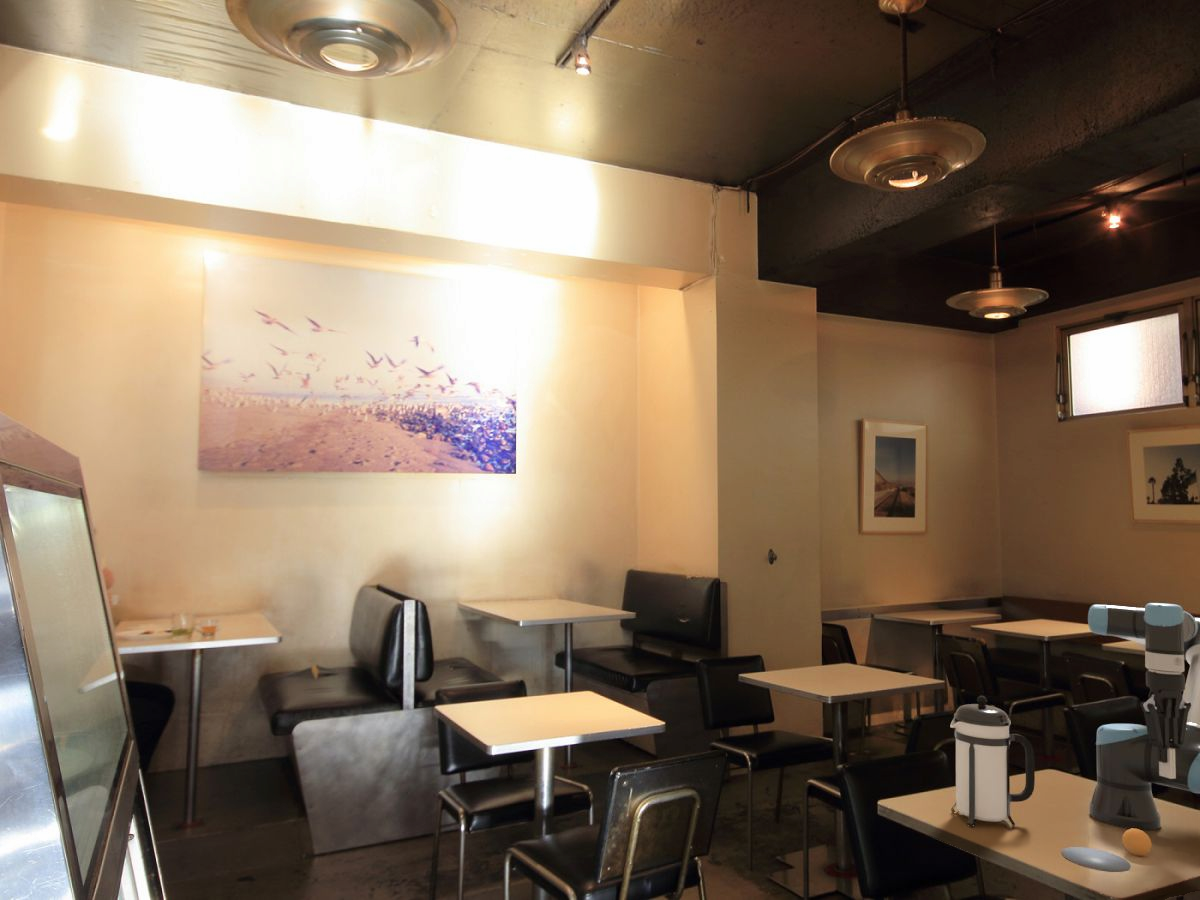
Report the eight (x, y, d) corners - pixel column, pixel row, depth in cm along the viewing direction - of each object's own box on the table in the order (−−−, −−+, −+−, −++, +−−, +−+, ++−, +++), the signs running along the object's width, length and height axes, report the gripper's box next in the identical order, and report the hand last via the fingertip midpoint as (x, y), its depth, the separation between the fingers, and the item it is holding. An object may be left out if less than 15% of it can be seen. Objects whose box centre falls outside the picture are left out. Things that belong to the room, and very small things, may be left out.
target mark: (1093, 845, 192) (1093, 844, 192) (1145, 868, 180) (1145, 867, 180) (1047, 850, 188) (1047, 849, 188) (1098, 873, 176) (1098, 872, 176)
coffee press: (1003, 837, 195) (1002, 705, 198) (938, 817, 208) (938, 693, 210) (1036, 822, 206) (1035, 698, 209) (972, 804, 219) (972, 687, 221)
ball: (1135, 849, 191) (1134, 824, 191) (1158, 858, 186) (1157, 832, 186) (1116, 851, 189) (1116, 825, 190) (1139, 860, 184) (1138, 834, 185)
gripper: (1158, 674, 188) (1161, 783, 186) (1202, 673, 192) (1204, 780, 190) (1128, 669, 196) (1130, 773, 193) (1171, 668, 199) (1173, 770, 197)
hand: (1167, 776), depth 192 cm, fingers closed
